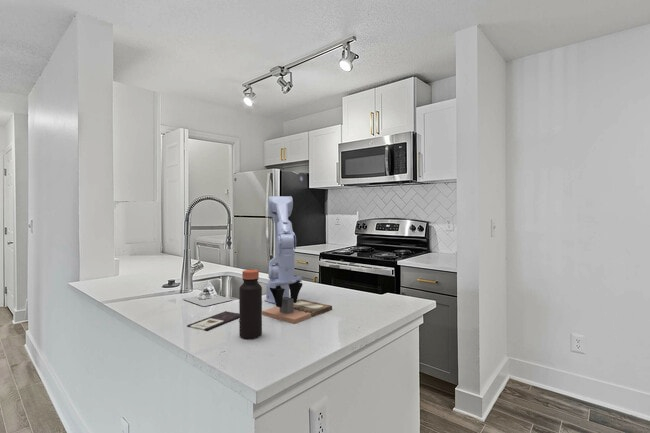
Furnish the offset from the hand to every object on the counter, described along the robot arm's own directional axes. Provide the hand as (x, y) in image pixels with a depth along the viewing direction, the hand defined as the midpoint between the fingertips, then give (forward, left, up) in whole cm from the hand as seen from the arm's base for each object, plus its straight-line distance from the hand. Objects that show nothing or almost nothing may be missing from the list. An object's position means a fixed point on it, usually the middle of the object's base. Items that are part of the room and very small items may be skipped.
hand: (286, 304), depth 131 cm
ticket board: (0, +11, -4) cm, 12 cm away
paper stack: (-46, -9, -5) cm, 47 cm away
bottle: (+5, -21, -5) cm, 22 cm away
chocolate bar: (-15, -19, -5) cm, 25 cm away
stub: (0, 0, -4) cm, 4 cm away
